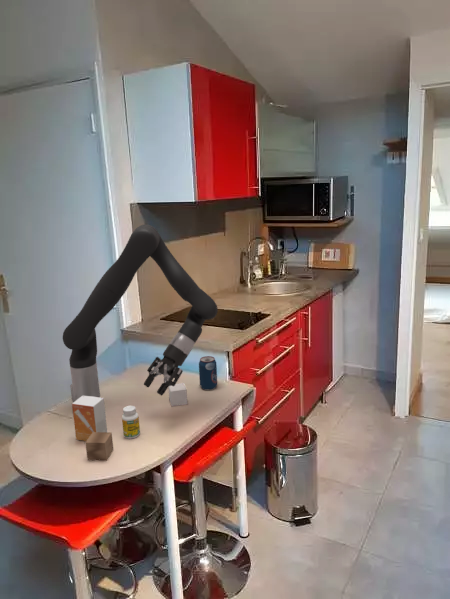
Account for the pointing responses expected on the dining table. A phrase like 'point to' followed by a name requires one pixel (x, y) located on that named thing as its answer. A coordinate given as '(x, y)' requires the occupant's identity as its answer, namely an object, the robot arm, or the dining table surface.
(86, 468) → the dining table surface
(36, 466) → the dining table surface
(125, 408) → the supplement bottle
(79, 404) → the small box
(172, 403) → the white cube
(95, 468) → the dining table surface
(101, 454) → the walnut cube
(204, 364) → the soda can
